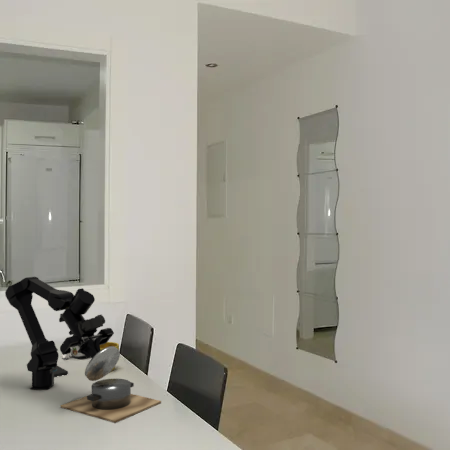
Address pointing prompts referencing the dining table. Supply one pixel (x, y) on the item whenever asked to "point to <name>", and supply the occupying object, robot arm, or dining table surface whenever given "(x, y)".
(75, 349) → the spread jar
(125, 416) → the board
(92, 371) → the lid
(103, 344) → the plant pot
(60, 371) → the smart home device
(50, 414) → the dining table surface
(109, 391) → the cooker
